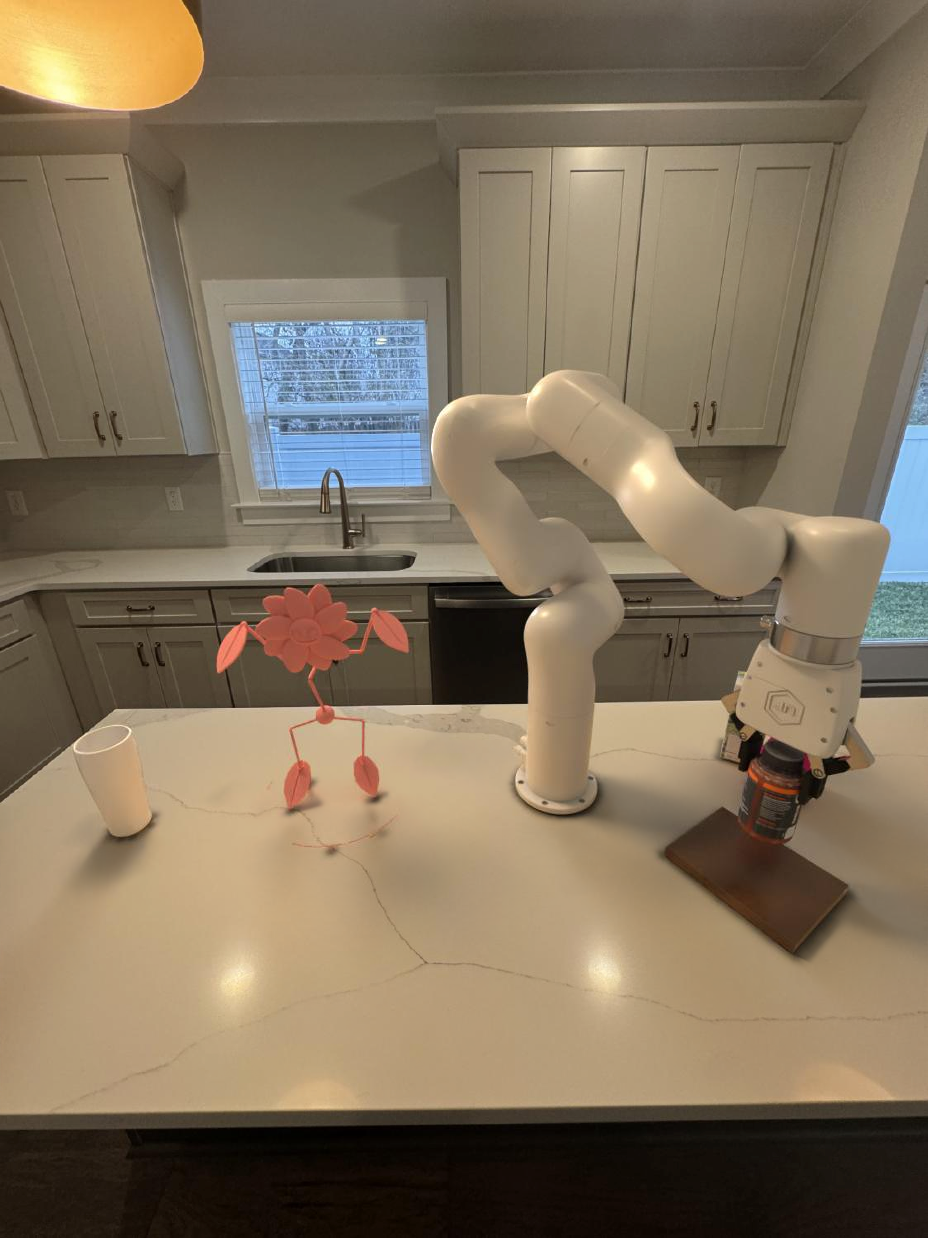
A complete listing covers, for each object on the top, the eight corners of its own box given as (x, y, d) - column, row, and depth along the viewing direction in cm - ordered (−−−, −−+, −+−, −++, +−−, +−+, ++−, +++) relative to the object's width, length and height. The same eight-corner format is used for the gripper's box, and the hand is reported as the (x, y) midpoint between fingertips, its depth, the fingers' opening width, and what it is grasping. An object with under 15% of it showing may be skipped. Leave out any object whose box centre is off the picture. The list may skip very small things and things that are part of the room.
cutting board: (664, 855, 67) (665, 846, 66) (720, 814, 74) (722, 806, 73) (791, 954, 55) (795, 944, 54) (845, 894, 61) (849, 885, 61)
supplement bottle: (804, 847, 58) (829, 767, 54) (751, 847, 58) (772, 767, 54) (775, 809, 64) (796, 734, 60) (727, 809, 64) (744, 734, 60)
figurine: (255, 784, 81) (210, 575, 68) (416, 770, 84) (403, 565, 71) (225, 862, 67) (161, 617, 54) (420, 842, 70) (405, 603, 57)
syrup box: (760, 751, 87) (778, 676, 81) (757, 770, 82) (776, 693, 77) (723, 741, 90) (738, 668, 84) (718, 759, 85) (734, 683, 80)
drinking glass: (168, 816, 75) (142, 731, 69) (123, 849, 69) (91, 759, 64) (138, 803, 78) (111, 719, 72) (93, 834, 72) (59, 746, 66)
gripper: (713, 622, 57) (689, 756, 63) (902, 685, 43) (846, 845, 50) (749, 608, 60) (723, 735, 67) (933, 661, 47) (877, 813, 54)
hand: (776, 781), depth 58 cm, fingers closed on supplement bottle, 5 cm apart
